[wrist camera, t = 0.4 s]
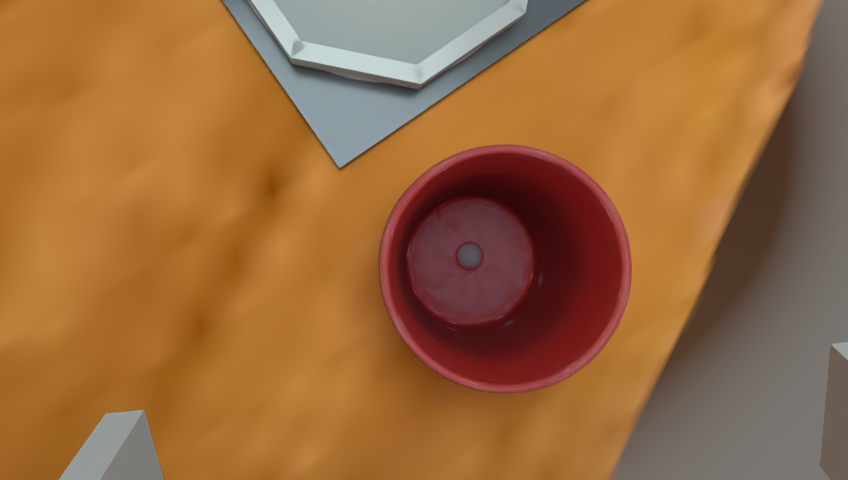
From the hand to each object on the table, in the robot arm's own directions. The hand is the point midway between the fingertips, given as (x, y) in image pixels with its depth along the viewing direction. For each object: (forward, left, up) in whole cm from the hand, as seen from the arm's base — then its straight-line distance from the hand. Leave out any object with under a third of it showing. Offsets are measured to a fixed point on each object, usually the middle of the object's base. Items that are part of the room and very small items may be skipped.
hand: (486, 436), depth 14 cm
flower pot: (+1, +5, -27) cm, 27 cm away
